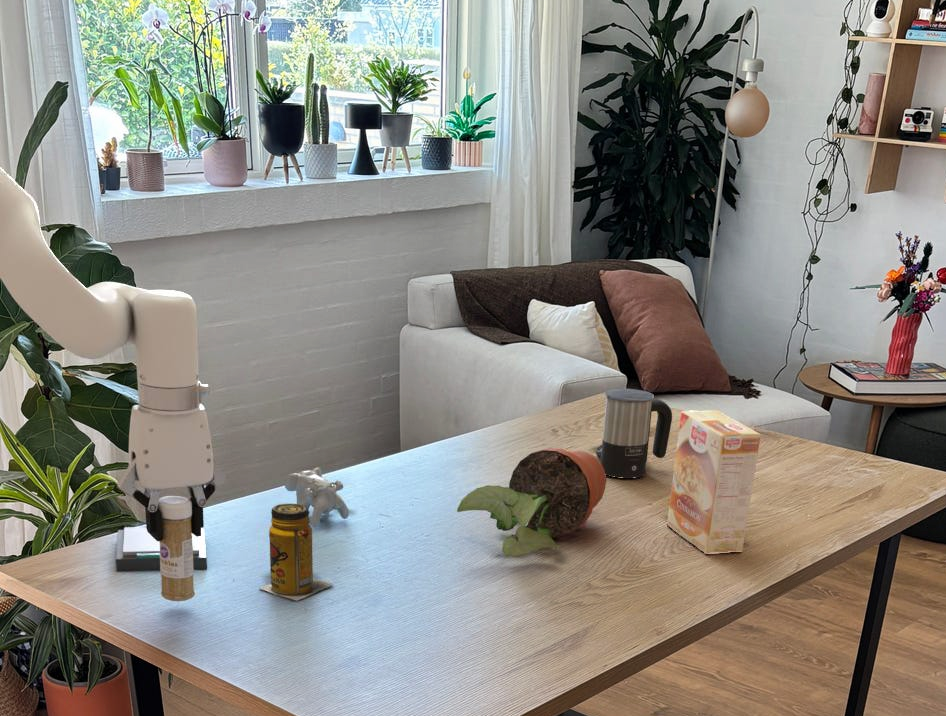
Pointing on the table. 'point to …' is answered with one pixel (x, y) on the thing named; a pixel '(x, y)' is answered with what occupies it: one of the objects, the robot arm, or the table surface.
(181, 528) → the sprinkles bottle
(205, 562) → the kitchen scale
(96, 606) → the table surface
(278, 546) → the condiment
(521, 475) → the potted plant
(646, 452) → the milk frother
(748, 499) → the coffeecake box
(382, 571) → the table surface
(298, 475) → the elephant statuette
